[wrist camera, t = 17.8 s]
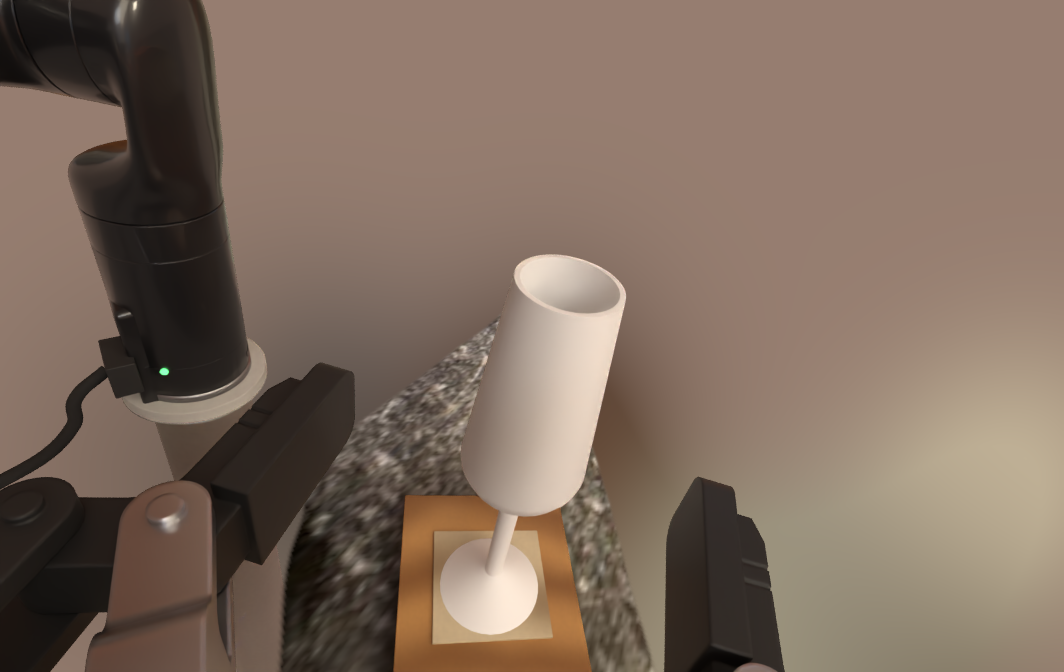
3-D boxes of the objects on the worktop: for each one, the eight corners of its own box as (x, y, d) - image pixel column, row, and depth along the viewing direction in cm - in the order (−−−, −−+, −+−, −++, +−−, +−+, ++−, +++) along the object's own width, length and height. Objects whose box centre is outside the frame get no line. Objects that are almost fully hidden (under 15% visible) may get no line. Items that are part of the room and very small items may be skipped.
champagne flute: (452, 529, 39) (503, 231, 25) (542, 548, 39) (644, 262, 25) (427, 623, 34) (474, 310, 19) (532, 645, 34) (655, 350, 20)
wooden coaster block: (580, 716, 35) (596, 691, 32) (388, 733, 32) (390, 706, 30) (547, 524, 46) (558, 494, 43) (402, 525, 43) (405, 493, 41)
